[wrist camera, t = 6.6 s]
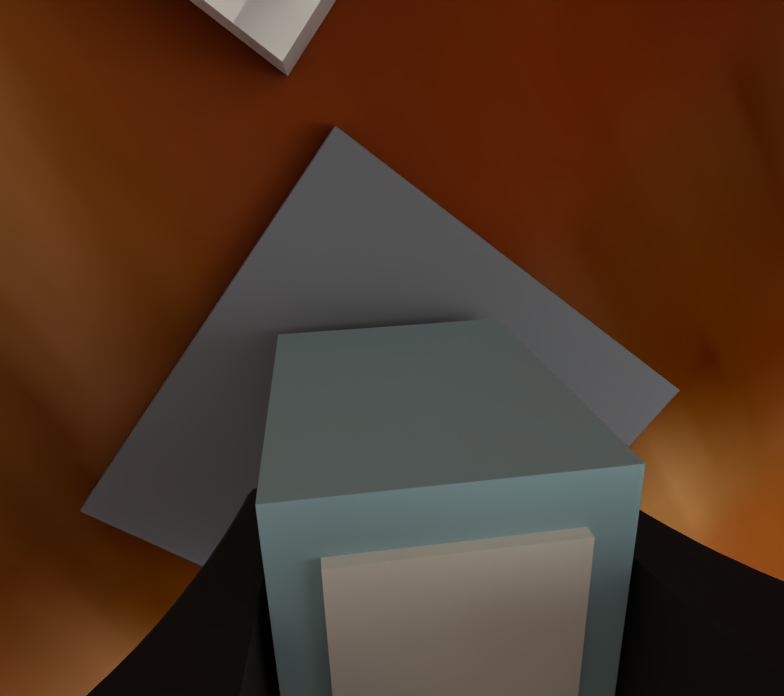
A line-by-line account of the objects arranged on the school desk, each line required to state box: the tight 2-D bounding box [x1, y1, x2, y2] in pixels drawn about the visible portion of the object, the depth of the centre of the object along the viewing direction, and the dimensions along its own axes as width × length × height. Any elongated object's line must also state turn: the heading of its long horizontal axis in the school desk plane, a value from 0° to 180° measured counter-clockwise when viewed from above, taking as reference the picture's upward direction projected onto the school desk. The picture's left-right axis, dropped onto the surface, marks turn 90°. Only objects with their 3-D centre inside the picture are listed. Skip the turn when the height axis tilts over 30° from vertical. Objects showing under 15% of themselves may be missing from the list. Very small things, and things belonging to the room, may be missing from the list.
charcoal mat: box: [80, 126, 679, 566], centre depth 14 cm, size 10×10×1 cm
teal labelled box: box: [255, 319, 646, 696], centre depth 10 cm, size 4×6×6 cm
